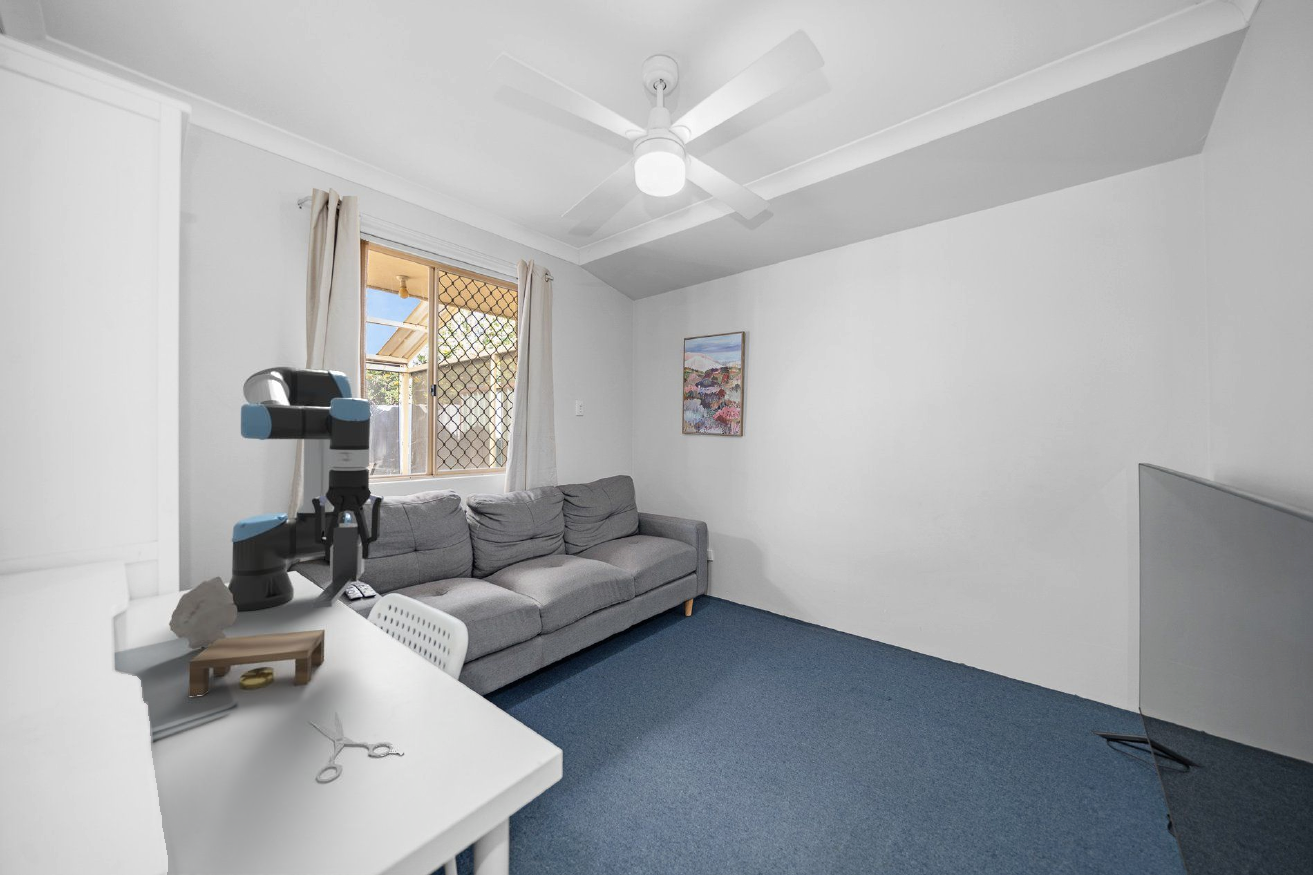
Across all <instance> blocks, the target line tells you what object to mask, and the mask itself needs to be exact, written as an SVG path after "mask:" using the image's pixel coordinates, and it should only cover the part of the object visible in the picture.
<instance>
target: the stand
mask: <svg viewBox="0 0 1313 875" xmlns="http://www.w3.org/2000/svg"><path fill="white" fill-rule="evenodd" d="M291 660H295V662H294V664H295V665H294V667H295V668H294V686H295V687H296V686H303V685H308V684H309V682H310V681H311V680H312V666H313V667H314V666H321V665H322V664H323V663H324V662H325V629H318V630H317V629H316V630H315V629H314V630H303V631H293V632H292V631H291V632H281V633H270V634H269V633H268V634H257V635H245V636H244V635H243V636H233V637H226V638H220V639H218V640H216V641H215V642H214V643H213V644H211V645H209V646H207V647H205V649H204V650H203V651H201V652H200V653H199V654H197V655H196V656H195V657H193V658H192V659H191V660H190V661H189V675H188V676H189V678H188V679H189V682H188V683H189V684H188V685H189V686H188V687H189V688H188V692H189V693H188V697H189V696H197V695H203V694H205V693H206V692H207V691H208V690H209V691H210V669H212V676H213V675H220V676H226V675H227V674H228V673H229V672H230V671H232V670H231V668H232V667H233V666H242V665H249V664H250V665H253V664H262V663H273V662H281V661H291ZM209 691H208V692H209ZM208 692H207V693H208ZM207 693H206V694H207ZM206 694H205V695H206Z"/></svg>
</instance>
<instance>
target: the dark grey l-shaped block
mask: <svg viewBox="0 0 1313 875" xmlns="http://www.w3.org/2000/svg"><path fill="white" fill-rule="evenodd" d="M360 543H362V542H361V538H360V534H359V526H357V522H351V523H341V524H339V525H337V526H336V527H334V528H333V576H332V581H331V583H329V584H328V585H327V587H326V588H324V590H322V592H321V593H320V594H319V595H318V596H317V597H316V598H315V599H314V600H313V601H312V609H319V608H320V609H321V608H322V609H323V608H332V607H333V605H334V604H336V602H337V601H338V599H339V598H341V596H342V595H343V594H344V593H345V591H347V589H348V588H349V587H350V585H351V584H352V583H355V582H358V581H359V579H360V578H361V577H362V574H361V575H357V572H358V545H359V544H360Z"/></svg>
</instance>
